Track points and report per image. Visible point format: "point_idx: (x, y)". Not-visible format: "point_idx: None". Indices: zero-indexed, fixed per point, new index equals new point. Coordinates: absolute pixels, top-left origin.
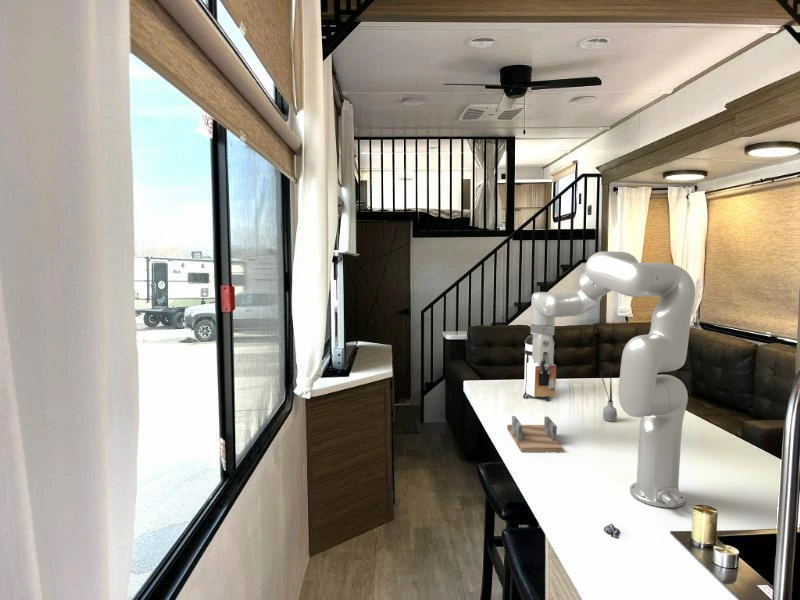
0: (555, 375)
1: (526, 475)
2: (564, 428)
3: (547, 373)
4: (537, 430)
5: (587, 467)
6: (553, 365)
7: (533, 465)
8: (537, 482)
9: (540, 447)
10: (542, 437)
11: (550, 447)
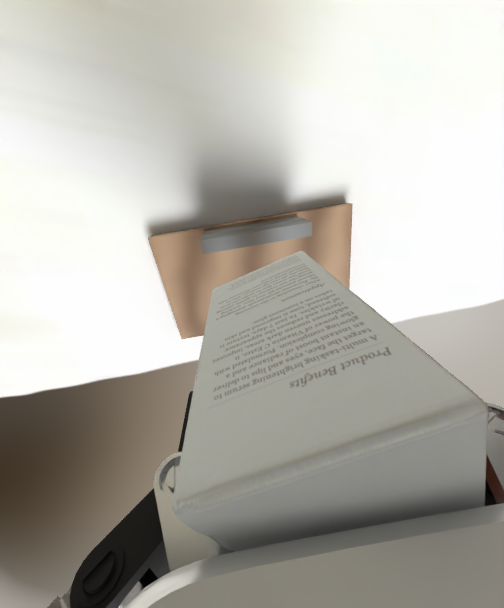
0: (374, 311)
1: (459, 300)
2: (115, 155)
3: (496, 420)
4: (211, 262)
5: (449, 148)
6: (486, 444)
7: (416, 284)
8: (493, 282)
9: (347, 266)
10: (271, 253)
11: (348, 240)
